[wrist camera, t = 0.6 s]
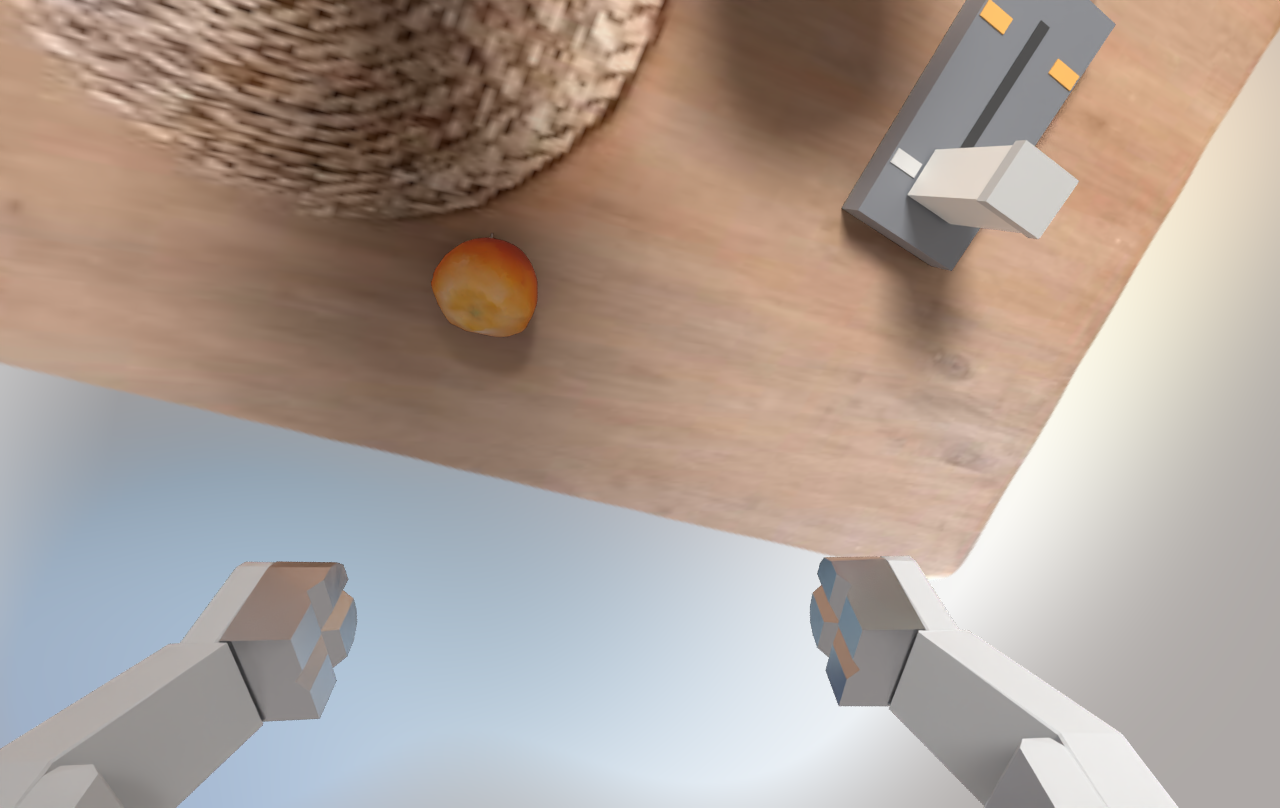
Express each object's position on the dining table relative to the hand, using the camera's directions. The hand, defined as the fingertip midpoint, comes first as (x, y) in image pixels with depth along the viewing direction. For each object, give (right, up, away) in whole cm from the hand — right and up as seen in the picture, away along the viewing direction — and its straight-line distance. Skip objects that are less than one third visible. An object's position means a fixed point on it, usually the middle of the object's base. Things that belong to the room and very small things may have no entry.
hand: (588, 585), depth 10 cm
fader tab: (+26, +21, +40) cm, 53 cm away
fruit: (-12, +14, +41) cm, 44 cm away
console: (+29, +28, +42) cm, 58 cm away
